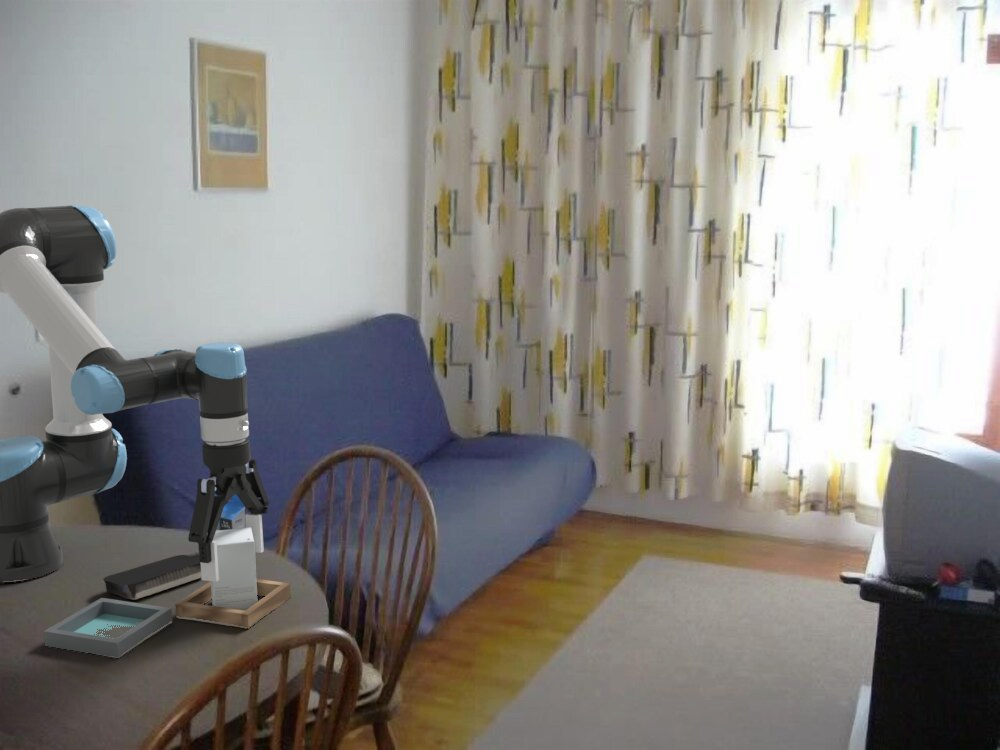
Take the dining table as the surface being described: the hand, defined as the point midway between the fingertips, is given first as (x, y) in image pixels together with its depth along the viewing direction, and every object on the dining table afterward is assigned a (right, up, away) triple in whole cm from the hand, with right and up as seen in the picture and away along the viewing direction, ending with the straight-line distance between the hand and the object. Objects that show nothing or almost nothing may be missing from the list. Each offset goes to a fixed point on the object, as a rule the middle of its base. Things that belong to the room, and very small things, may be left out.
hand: (233, 565), depth 177 cm
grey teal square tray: (-17, -9, -8) cm, 21 cm away
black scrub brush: (-16, -6, +11) cm, 21 cm away
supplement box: (0, -8, +2) cm, 8 cm away
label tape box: (-8, -3, +25) cm, 26 cm away
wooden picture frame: (0, -7, +2) cm, 8 cm away
